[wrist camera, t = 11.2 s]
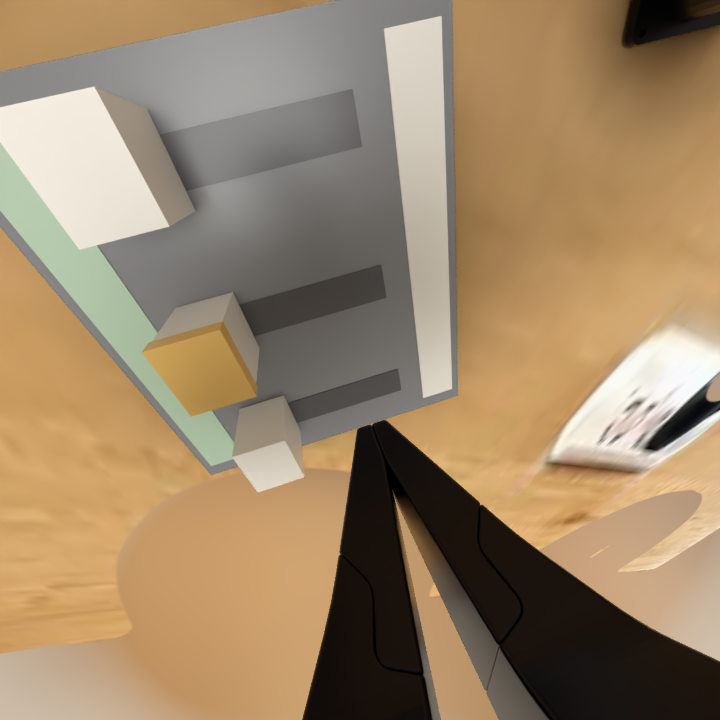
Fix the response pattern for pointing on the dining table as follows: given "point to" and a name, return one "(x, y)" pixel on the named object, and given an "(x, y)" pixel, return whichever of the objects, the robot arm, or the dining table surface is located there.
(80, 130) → the block
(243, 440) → the block
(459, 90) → the dining table surface
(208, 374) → the block
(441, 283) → the panel
